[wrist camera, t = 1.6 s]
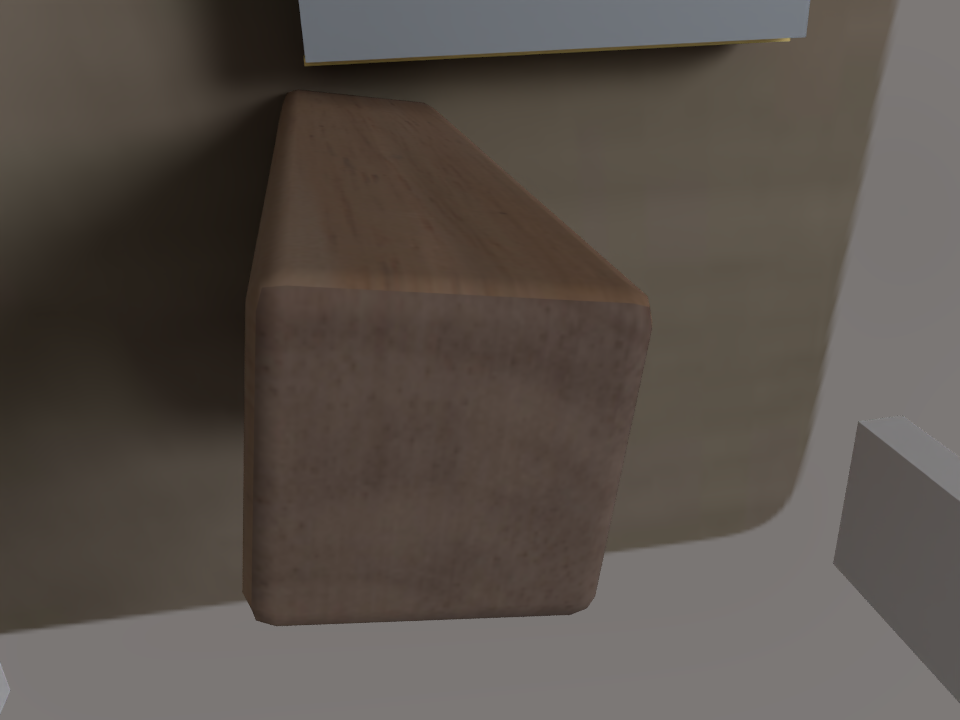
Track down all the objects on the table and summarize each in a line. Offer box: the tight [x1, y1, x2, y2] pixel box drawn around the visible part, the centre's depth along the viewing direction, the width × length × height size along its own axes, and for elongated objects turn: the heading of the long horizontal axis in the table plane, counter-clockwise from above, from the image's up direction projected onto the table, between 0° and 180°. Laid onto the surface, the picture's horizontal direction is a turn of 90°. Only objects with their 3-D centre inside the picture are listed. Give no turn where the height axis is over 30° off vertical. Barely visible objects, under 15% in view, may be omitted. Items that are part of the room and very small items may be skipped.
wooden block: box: [242, 90, 652, 626], centre depth 18 cm, size 9×4×18 cm, turn 173°
